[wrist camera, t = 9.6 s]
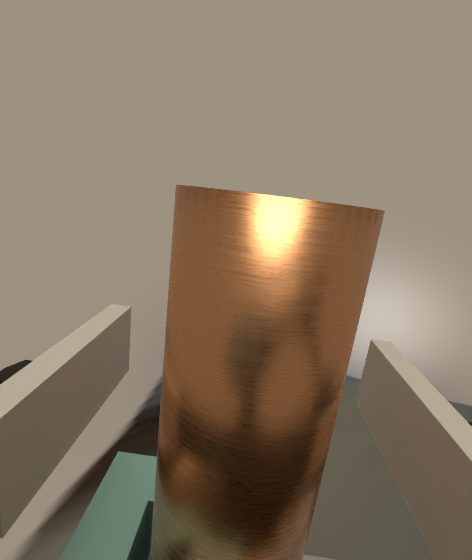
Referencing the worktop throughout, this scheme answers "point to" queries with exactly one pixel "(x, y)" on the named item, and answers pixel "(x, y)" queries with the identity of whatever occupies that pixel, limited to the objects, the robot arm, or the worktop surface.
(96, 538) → the socket
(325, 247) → the slip bolt
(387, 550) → the worktop surface
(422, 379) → the robot arm
